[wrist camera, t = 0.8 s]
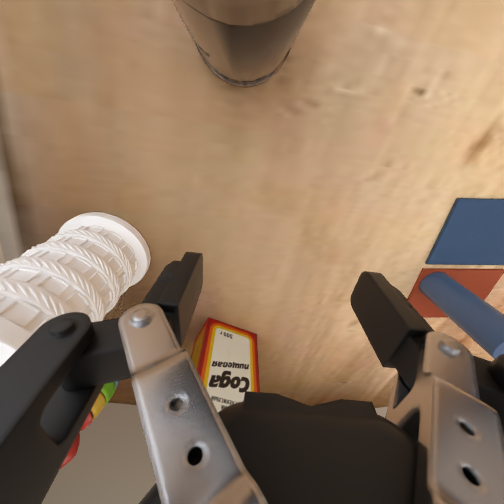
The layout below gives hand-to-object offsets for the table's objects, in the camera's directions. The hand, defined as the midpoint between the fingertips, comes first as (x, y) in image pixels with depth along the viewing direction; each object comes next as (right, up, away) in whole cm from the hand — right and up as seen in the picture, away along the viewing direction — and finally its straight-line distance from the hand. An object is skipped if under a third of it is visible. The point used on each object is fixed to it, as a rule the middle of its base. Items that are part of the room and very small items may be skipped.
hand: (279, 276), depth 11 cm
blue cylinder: (+28, -4, +24) cm, 36 cm away
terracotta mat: (+31, -6, +25) cm, 41 cm away
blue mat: (+32, +4, +20) cm, 38 cm away
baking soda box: (-6, -14, +29) cm, 33 cm away
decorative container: (-22, +1, +20) cm, 30 cm away
